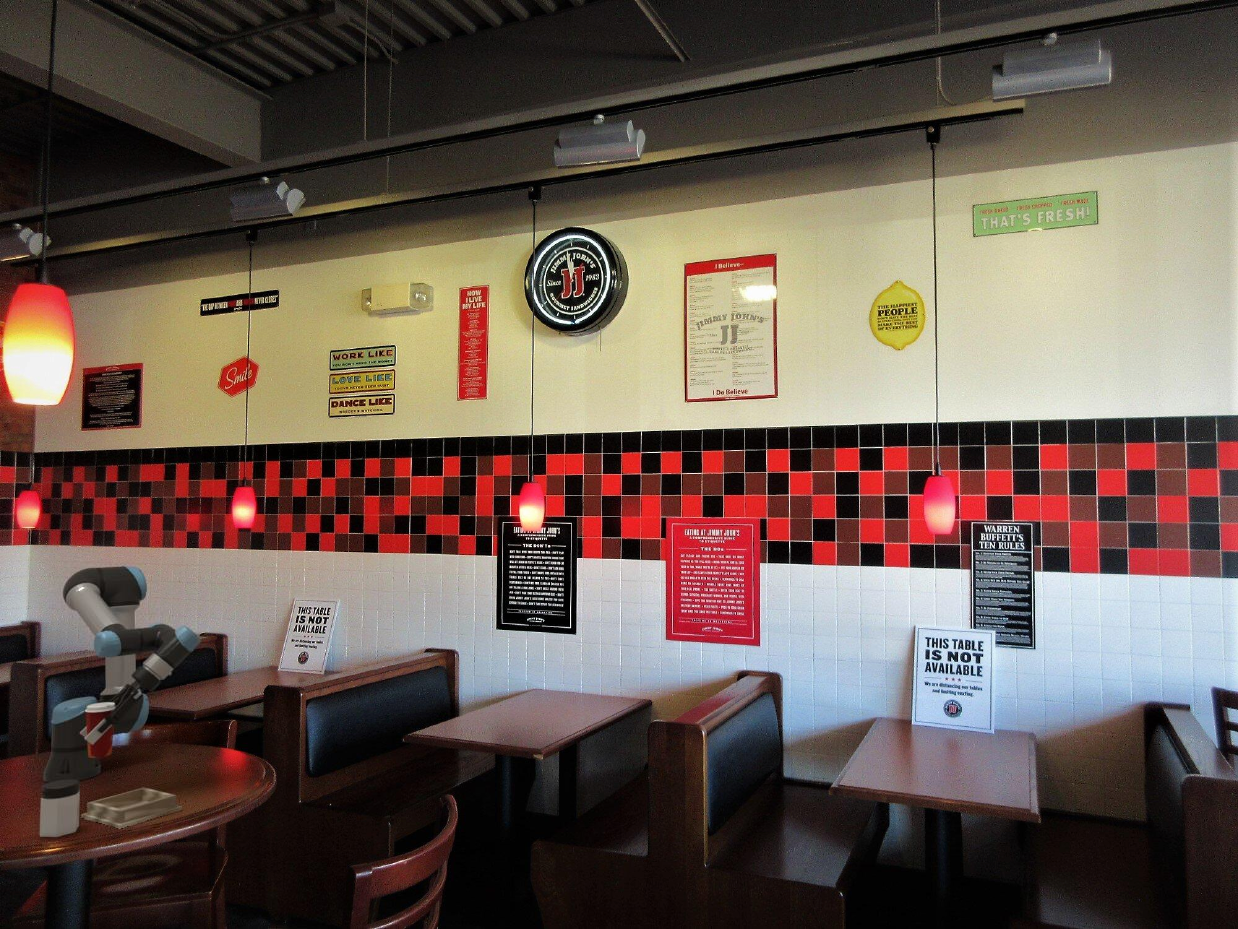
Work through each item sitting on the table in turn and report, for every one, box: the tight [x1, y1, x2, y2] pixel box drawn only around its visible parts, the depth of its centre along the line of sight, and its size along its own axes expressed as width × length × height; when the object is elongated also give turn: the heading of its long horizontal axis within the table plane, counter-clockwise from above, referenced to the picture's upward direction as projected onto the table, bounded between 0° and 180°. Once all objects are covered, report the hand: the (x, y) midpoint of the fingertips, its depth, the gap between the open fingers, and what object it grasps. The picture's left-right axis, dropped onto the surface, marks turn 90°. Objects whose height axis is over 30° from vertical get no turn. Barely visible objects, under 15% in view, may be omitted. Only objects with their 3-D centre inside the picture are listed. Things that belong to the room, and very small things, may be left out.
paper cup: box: [85, 702, 116, 759], centre depth 245 cm, size 8×8×14 cm
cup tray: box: [80, 787, 183, 830], centre depth 235 cm, size 18×17×4 cm
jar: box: [39, 779, 81, 838], centre depth 222 cm, size 9×8×12 cm
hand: (86, 738), depth 242 cm, fingers closed on paper cup, 8 cm apart
